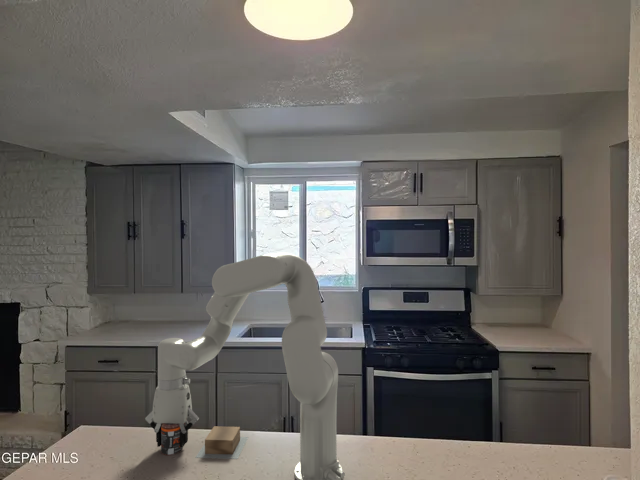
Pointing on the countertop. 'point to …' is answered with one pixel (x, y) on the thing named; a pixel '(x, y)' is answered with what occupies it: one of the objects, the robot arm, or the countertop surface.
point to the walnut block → (222, 440)
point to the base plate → (224, 456)
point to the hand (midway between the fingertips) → (172, 444)
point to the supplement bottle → (170, 439)
